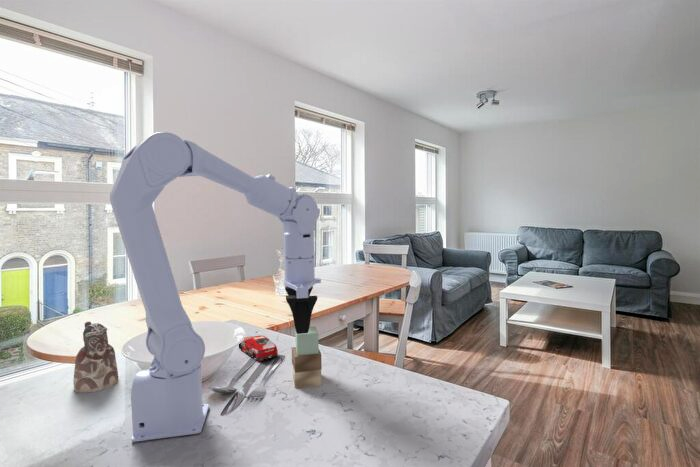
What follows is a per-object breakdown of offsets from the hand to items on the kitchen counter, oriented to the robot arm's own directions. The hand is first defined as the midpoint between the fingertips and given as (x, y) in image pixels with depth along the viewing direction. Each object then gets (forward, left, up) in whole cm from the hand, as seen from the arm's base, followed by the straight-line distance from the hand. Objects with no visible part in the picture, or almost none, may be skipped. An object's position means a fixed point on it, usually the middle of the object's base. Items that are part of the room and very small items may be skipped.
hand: (301, 326), depth 72 cm
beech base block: (+1, -1, -11) cm, 11 cm away
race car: (-9, +16, -11) cm, 21 cm away
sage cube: (+1, -1, -5) cm, 5 cm away
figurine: (-39, +7, -11) cm, 41 cm away
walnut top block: (+1, -1, -8) cm, 8 cm away
